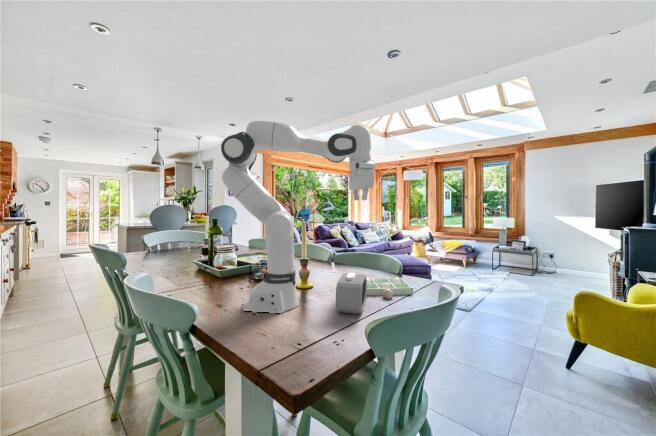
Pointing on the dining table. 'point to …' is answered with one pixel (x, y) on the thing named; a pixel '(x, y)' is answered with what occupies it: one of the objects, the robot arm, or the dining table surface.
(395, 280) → the cream egg
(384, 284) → the cream egg
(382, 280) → the egg tray
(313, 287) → the dining table surface
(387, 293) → the brown egg
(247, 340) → the dining table surface
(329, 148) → the robot arm
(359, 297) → the alarm clock
